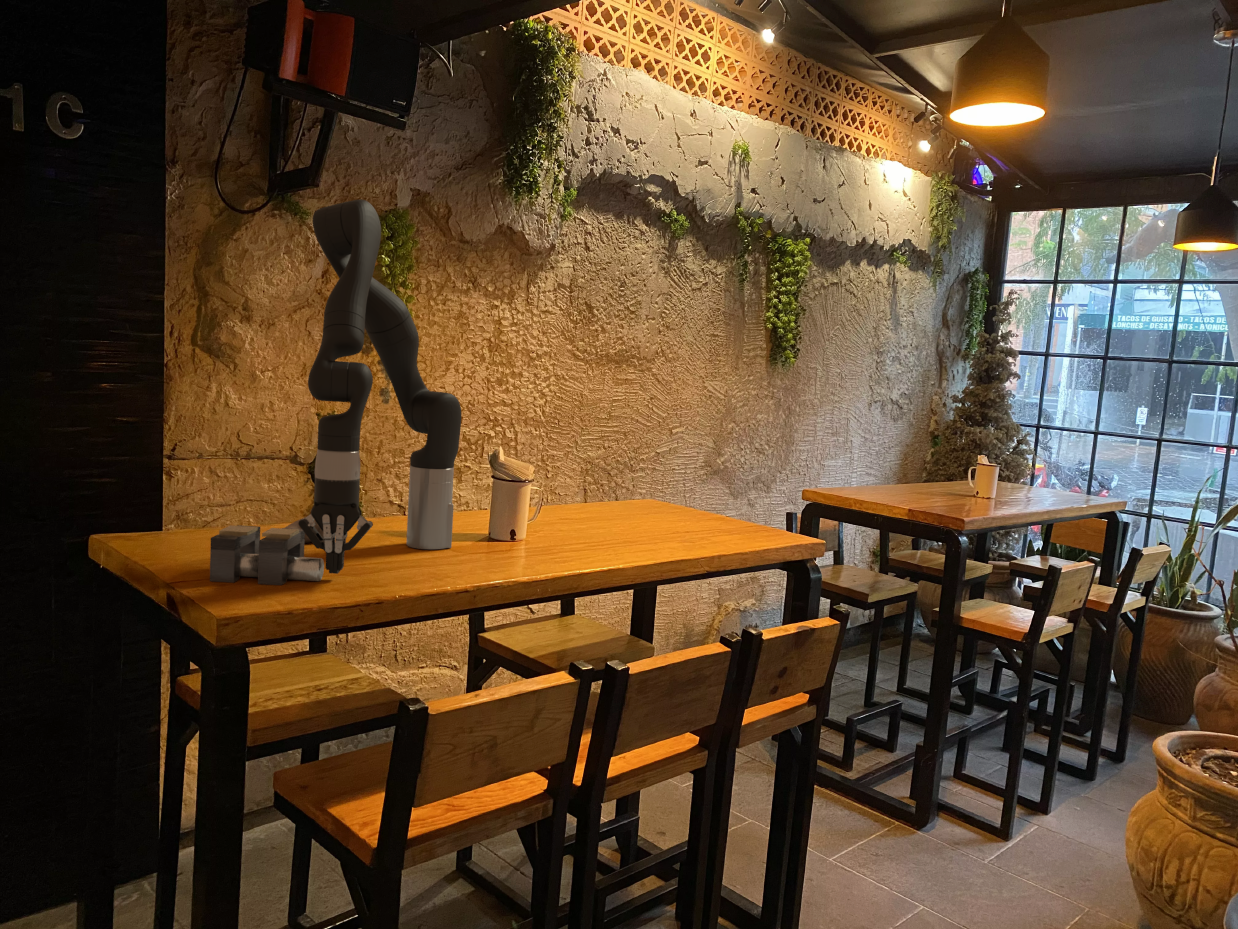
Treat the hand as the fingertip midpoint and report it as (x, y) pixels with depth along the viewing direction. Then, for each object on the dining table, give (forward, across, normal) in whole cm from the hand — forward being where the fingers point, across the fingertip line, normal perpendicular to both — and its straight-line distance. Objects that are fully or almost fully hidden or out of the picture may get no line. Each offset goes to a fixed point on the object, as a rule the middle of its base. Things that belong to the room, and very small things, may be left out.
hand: (334, 572), depth 155 cm
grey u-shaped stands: (+1, +13, 0) cm, 13 cm away
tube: (+1, +11, 0) cm, 11 cm away
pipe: (+2, +13, -26) cm, 29 cm away
